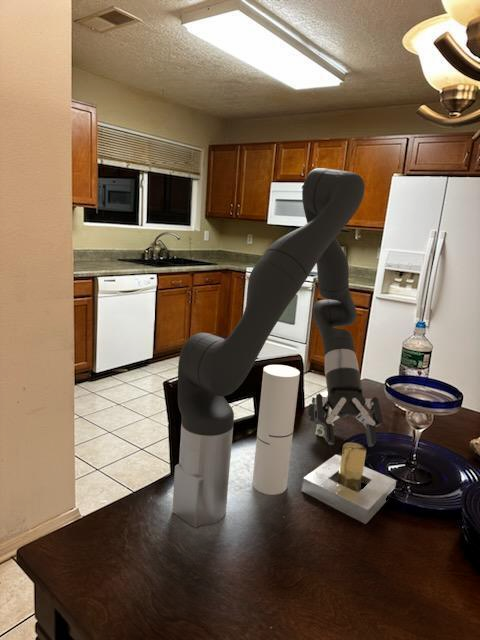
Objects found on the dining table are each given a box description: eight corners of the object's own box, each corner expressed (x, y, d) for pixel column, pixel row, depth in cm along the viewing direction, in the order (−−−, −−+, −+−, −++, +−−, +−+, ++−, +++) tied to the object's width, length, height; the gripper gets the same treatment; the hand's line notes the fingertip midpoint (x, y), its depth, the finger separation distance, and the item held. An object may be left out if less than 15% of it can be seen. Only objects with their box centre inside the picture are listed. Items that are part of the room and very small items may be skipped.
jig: (365, 524, 82) (367, 509, 81) (301, 491, 90) (303, 477, 90) (394, 493, 92) (396, 480, 92) (334, 466, 101) (336, 454, 100)
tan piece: (353, 501, 88) (360, 456, 86) (332, 491, 91) (339, 447, 89) (362, 492, 92) (370, 448, 90) (342, 482, 95) (349, 440, 92)
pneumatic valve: (341, 430, 119) (347, 389, 116) (320, 445, 110) (326, 400, 107) (323, 424, 122) (329, 383, 120) (301, 437, 113) (307, 394, 111)
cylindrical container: (284, 497, 88) (298, 379, 82) (249, 490, 89) (260, 373, 84) (288, 478, 94) (301, 367, 89) (255, 472, 96) (266, 362, 90)
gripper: (315, 364, 96) (323, 437, 87) (378, 367, 97) (392, 440, 89) (307, 378, 102) (313, 448, 94) (366, 381, 104) (378, 451, 95)
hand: (351, 444), depth 91 cm, fingers open, 8 cm apart
